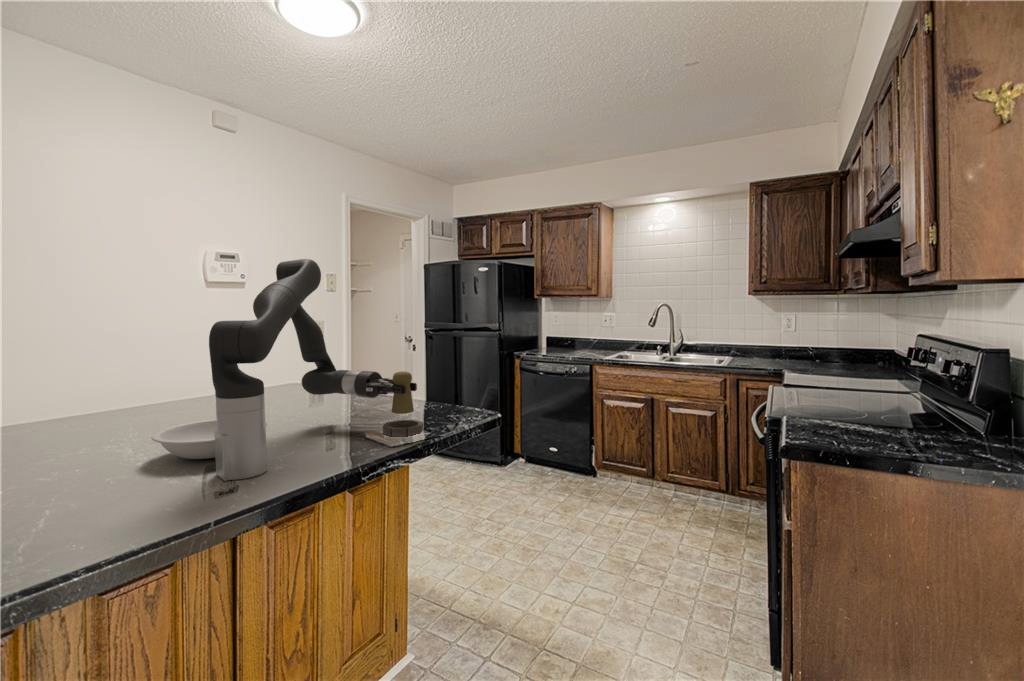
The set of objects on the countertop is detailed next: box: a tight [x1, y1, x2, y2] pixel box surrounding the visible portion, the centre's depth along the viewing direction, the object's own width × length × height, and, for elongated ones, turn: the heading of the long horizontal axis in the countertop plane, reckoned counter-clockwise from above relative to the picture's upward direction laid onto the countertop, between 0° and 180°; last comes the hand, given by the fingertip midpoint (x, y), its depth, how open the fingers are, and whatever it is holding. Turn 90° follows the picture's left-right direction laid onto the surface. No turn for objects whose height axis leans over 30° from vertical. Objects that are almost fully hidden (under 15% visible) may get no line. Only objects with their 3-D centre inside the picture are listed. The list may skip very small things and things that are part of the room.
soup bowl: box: [151, 418, 268, 460], centre depth 121 cm, size 24×24×7 cm
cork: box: [391, 371, 415, 415], centre depth 136 cm, size 6×6×11 cm
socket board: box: [364, 419, 424, 443], centre depth 137 cm, size 16×14×4 cm
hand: (410, 388), depth 135 cm, fingers closed on cork, 4 cm apart
